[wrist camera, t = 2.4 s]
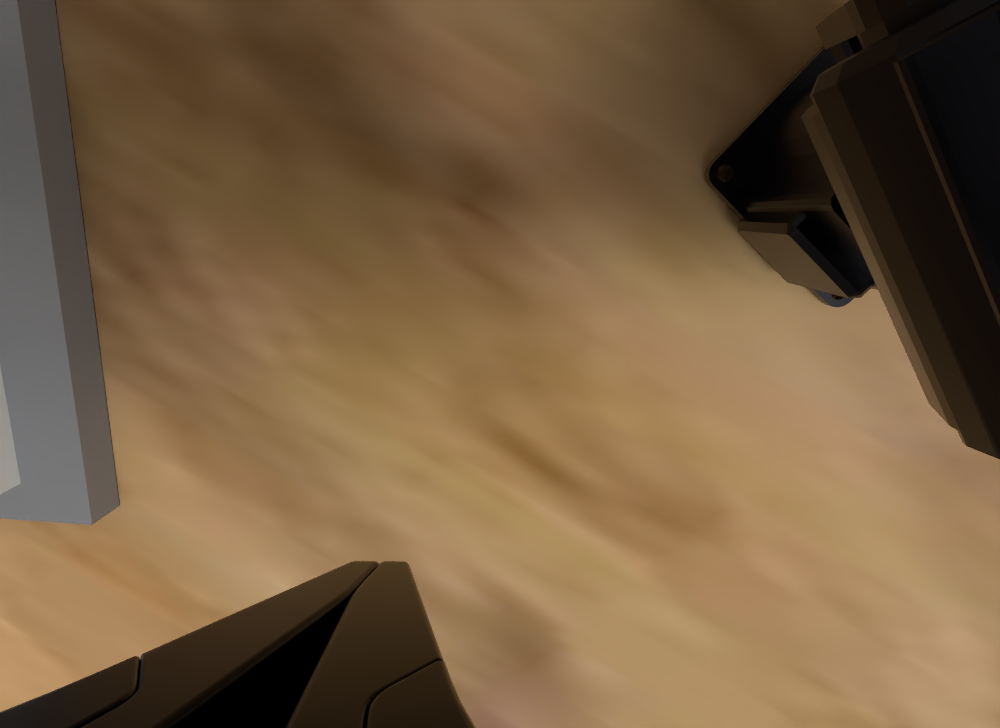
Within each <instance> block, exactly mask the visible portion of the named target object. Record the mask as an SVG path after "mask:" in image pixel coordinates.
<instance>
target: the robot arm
mask: <svg viewBox="0 0 1000 728" xmlns="http://www.w3.org/2000/svg"><path fill="white" fill-rule="evenodd" d="M816 29H817V31H818V33H819V36H820V38H821V40H822V43H823V45H824V46H823V47H822V48H821V49H820V51H819V52H818V53H817V54H816V55H815V56H814V57H813V58H812V59H811V60H810V61H809V62H808V63H807V64H806V65H805V66H804V67H803V68H802V69H801V70H800V71H799V72H798V73H797V74H796V75H795V76H794V77H793V78H792V79H791V80H790V81H789V82H788V83H787V85H786V86H785V87H784V88H783V89H782V90H781V91H780V92H779V93H778V94H777V95H776V96H775V97H774V98H773V99H772V100H771V101H770V102H769V103H768V104H767V105H766V106H765V107H764V108H763V109H762V110H761V111H760V112H759V113H758V114H757V115H756V116H755V117H754V119H753V120H752V121H751V122H750V123H749V124H748V125H747V126H746V127H745V128H744V129H743V130H742V131H741V132H740V133H739V134H738V135H737V136H736V137H735V138H734V139H733V140H732V141H731V142H730V143H729V144H728V145H727V146H726V147H725V148H724V149H723V150H722V151H721V152H720V154H719V155H718V156H717V157H716V158H715V159H714V160H713V161H712V162H711V163H710V164H709V166H708V167H707V169H706V173H705V178H706V182H707V183H708V185H709V186H710V187H711V188H712V190H713V191H714V192H715V193H716V194H717V195H718V196H719V197H720V198H721V199H722V200H723V201H724V202H725V203H726V204H727V205H728V206H729V207H730V208H731V209H732V210H733V211H734V212H735V213H736V214H737V215H738V216H739V217H740V218H741V220H740V221H739V222H738V232H739V233H740V234H741V236H742V237H743V238H744V239H745V240H746V241H747V242H748V243H749V244H750V245H751V246H752V247H753V248H754V249H755V250H756V251H757V252H758V253H759V254H760V255H761V256H762V257H763V258H764V259H765V260H766V261H767V262H768V263H769V264H770V265H771V266H772V267H773V268H774V269H775V270H776V271H777V272H778V273H779V274H780V275H781V277H782V278H783V279H784V280H785V281H787V282H788V283H792V284H796V285H800V286H804V287H807V288H809V289H810V290H811V291H812V293H813V294H814V295H815V296H816V297H817V298H818V299H819V300H820V301H821V302H823V303H824V304H826V305H829V306H833V307H841V306H844V305H846V304H848V303H849V302H850V301H851V300H852V299H854V298H859V297H862V296H863V295H864V294H865V293H866V292H867V291H868V290H869V289H871V288H872V289H877V290H879V293H880V295H881V297H882V299H883V301H884V304H885V306H886V308H887V310H888V313H889V315H890V317H891V319H892V322H893V324H894V326H895V328H896V331H897V333H898V335H899V337H900V340H901V342H902V344H903V346H904V348H905V351H906V353H907V355H908V357H909V360H910V362H911V364H912V366H913V369H914V371H915V373H916V375H917V378H918V380H919V382H920V384H921V387H922V389H923V391H924V393H925V395H926V398H927V400H928V402H929V404H930V405H931V406H932V407H933V408H934V409H935V410H936V412H937V413H938V414H939V415H940V416H941V417H942V418H943V419H944V420H945V421H946V422H947V423H948V425H950V426H951V427H953V428H955V429H957V431H958V433H959V435H960V437H961V440H962V442H963V443H964V444H965V445H966V446H968V447H970V448H973V449H975V450H978V451H980V452H983V453H985V454H988V455H990V456H993V457H995V458H998V459H1000V0H850V1H848V2H847V3H845V4H844V5H843V6H842V7H840V8H839V9H838V10H836V11H835V12H834V13H833V14H831V15H830V16H829V17H828V18H826V19H825V20H824V21H823V22H821V23H820V24H819V25H818V26H816ZM721 166H725V167H726V168H727V169H728V171H729V176H728V178H727V180H725V181H724V182H722V181H720V180H719V179H718V177H717V170H718V169H719V167H721ZM831 294H834V295H838V296H837V297H835V298H833V297H832V295H831ZM0 728H475V726H474V724H473V723H472V721H471V719H470V717H469V716H468V714H467V712H466V710H465V709H464V707H463V705H462V703H461V701H460V699H459V697H458V694H457V692H456V690H455V687H454V685H453V683H452V681H451V678H450V675H449V673H448V670H447V667H446V665H445V663H444V661H443V658H442V655H441V653H440V650H439V647H438V644H437V641H436V639H435V636H434V633H433V630H432V628H431V625H430V622H429V619H428V616H427V614H426V611H425V608H424V605H423V602H422V600H421V597H420V594H419V591H418V589H417V586H416V583H415V580H414V577H413V575H412V572H411V569H410V566H409V564H408V563H407V562H395V561H384V562H382V563H380V564H379V563H378V562H375V561H354V562H350V563H348V564H346V565H343V566H341V567H339V568H337V569H334V570H332V571H330V572H327V573H325V574H323V575H321V576H318V577H316V578H314V579H312V580H309V581H307V582H305V583H302V584H300V585H298V586H296V587H293V588H291V589H289V590H287V591H284V592H282V593H280V594H277V595H275V596H273V597H271V598H268V599H266V600H264V601H262V602H259V603H257V604H255V605H253V606H250V607H248V608H246V609H243V610H241V611H239V612H237V613H234V614H232V615H230V616H228V617H225V618H223V619H221V620H218V621H216V622H214V623H212V624H209V625H207V626H205V627H203V628H200V629H198V630H196V631H193V632H191V633H189V634H187V635H184V636H182V637H180V638H178V639H175V640H173V641H171V642H169V643H166V644H164V645H162V646H159V647H157V648H155V649H153V650H150V651H148V652H146V653H144V654H142V655H141V658H139V657H137V656H134V657H132V658H129V659H127V660H125V661H123V662H120V663H118V664H116V665H113V666H111V667H109V668H107V669H104V670H102V671H100V672H97V673H95V674H92V675H90V676H88V677H85V678H83V679H81V680H78V681H76V682H74V683H71V684H69V685H66V686H64V687H62V688H59V689H57V690H55V691H52V692H50V693H47V694H45V695H42V696H40V697H37V698H35V699H32V700H30V701H27V702H25V703H22V704H20V705H17V706H15V707H12V708H10V709H7V710H5V711H2V712H0Z"/></svg>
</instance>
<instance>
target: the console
mask: <svg viewBox="0 0 1000 728" xmlns="http://www.w3.org/2000/svg"><path fill="white" fill-rule="evenodd" d="M118 506H120V504H119V496H118V489H117V481H116V473H115V465H114V458H113V450H112V442H111V434H110V426H109V419H108V411H107V403H106V395H105V388H104V380H103V372H102V364H101V357H100V349H99V341H98V333H97V325H96V318H95V310H94V302H93V294H92V287H91V279H90V271H89V263H88V256H87V248H86V240H85V232H84V224H83V217H82V209H81V201H80V193H79V186H78V178H77V170H76V162H75V155H74V147H73V139H72V131H71V123H70V116H69V108H68V100H67V92H66V85H65V77H64V69H63V61H62V54H61V46H60V38H59V30H58V22H57V15H56V7H55V0H0V518H1V519H16V520H30V521H44V522H59V523H73V524H87V525H93V524H94V523H95V522H97V521H98V520H100V519H101V518H103V517H104V516H105V515H107V514H108V513H110V512H111V511H112V510H114V509H115V508H117V507H118Z"/></svg>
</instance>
